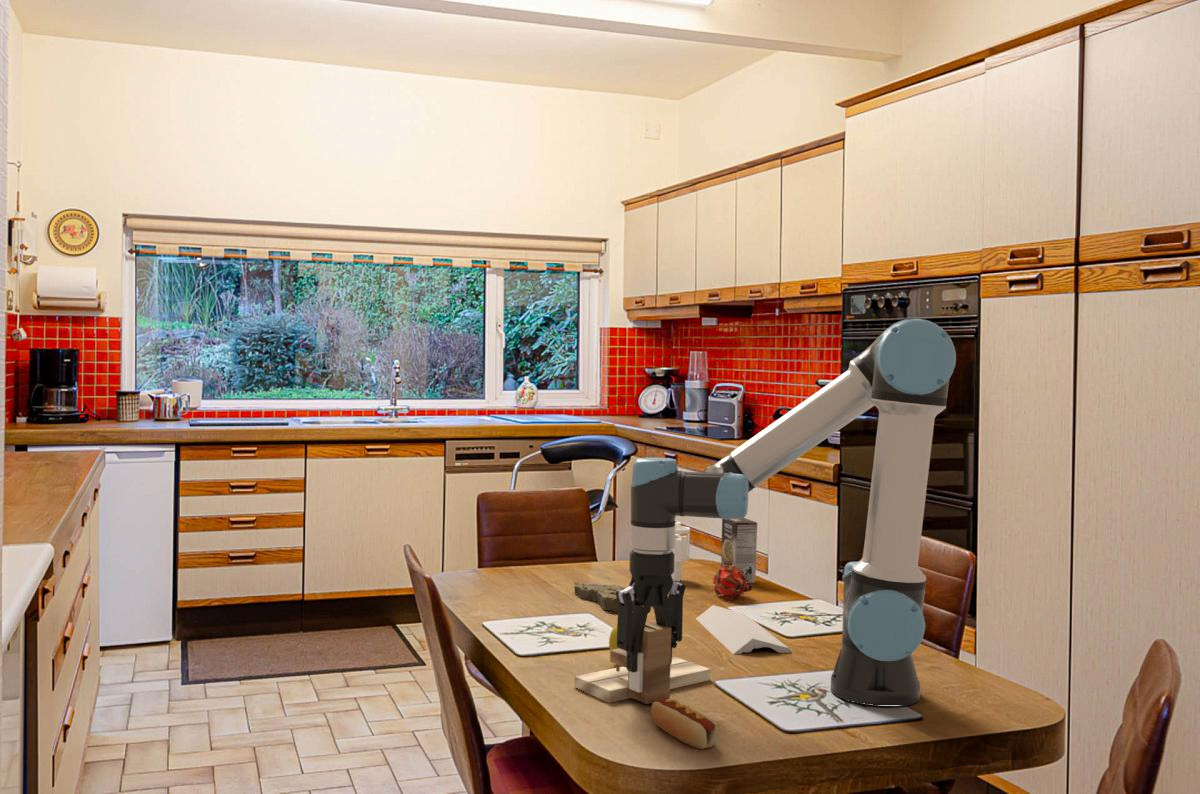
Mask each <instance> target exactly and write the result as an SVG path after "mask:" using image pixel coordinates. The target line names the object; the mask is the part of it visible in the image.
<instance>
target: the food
mask: <svg viewBox="0 0 1200 794" xmlns="http://www.w3.org/2000/svg"><path fill="white" fill-rule="evenodd" d="M650 710H651V711H650V712H651V716H652V719H653V722H654V724H655V725H656V726H657V727H659V728H660V729H662V730H663V731H665V732H666V733H668V734H669V735H671V736H672V737H674V738H676V739H678V740H679V741H681V742H682V743H684V744H685V745H689V746H691V747H693V748H695V749H699V750H705V749H710V748H712V747H713V746H714V745H715V744H716V742H717V740H718V737H719V731H720V730H719V729H720V728H719V727H720V726H719V724H718V722H716V721H715V720H714V719H711V718H710V717H708V716H706V715H704V714H702V713H701V712H699V711H696V710H693V709H692V708H690V706H687V705H686V704H682V703H680V702H679V701H678V700H677V699H667V698H666V697H659V698H658V699H657V700H656V702H654V703H651V709H650Z"/></svg>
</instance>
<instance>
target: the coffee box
mask: <svg viewBox="0 0 1200 794" xmlns="http://www.w3.org/2000/svg"><path fill="white" fill-rule="evenodd" d="M757 536H758V521H757V522H756V521H753V520H751V519H749V518H745V517H744V518H742V519H727V520H724V519H721V557H720V559H721V560H720V566H721V567H723V566H724V565H733V566H735V567H737V568H738V569H741V570H743V572H744V573H743V574H744V575H745V576H746V578H747V581H749V583H748V582H747V581H746V583H747V584H753V583H756V572H757V571H756V569H757V567H756V566H757V565H756V564H757V544H758V543H757V539H758V537H757ZM721 567H720V568H721Z"/></svg>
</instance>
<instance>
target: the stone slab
mask: <svg viewBox="0 0 1200 794" xmlns="http://www.w3.org/2000/svg"><path fill="white" fill-rule="evenodd" d="M573 583H574V586H573V587H574V594H576V596H577V597H579V598H582V599H583V600H586V599H587V601H591V600H592V601H593V602H594V603H595V602H597V603H596V604H598V603H599V604H598V605H599V606H600V608H602V609H601V610H603V611H604V610H605V611H612V612H613V613H617V614H618V601H617V597H616V591H617V590H624V589H626V588H627V587H625V586H621V585H616V584H592V583H581V584H580V583H579V582H578V581H574V582H573ZM633 598H634V596H633ZM632 603H633V601H632ZM640 606H642V605H640ZM642 607H644V606H642Z"/></svg>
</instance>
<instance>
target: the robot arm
mask: <svg viewBox="0 0 1200 794" xmlns="http://www.w3.org/2000/svg"><path fill="white" fill-rule="evenodd" d="M956 363H957V354H956V348H955V346H954V342H953V341H952V338H951V337H950V336H949V334H948V333H947V332H946V330H944V329H943V328H942V327H941V326H939V325H938V324H936V323H935V322H932V321H930V320H927V319H922V318H906V319H905V318H904V319H903V320H899V321H897V322H894V323H893V324H891V325H890V326H889V327H888V328H886V329H885V330H884V331H883V332H882V333H880V335H879V336H878V337H877V338H876V339H875V340H874V341H873V342H872V343H871V344H870V345H869V346H868V347H867V348H866V349H865V350H864V351H862V352H861V353H860V354H858V355H857V356H856V357H854V358H852V359H851V360H850V361H849V364H848V369H847V370H846V371H844V372H843V373H842V374H840V375H838V376H837V377H836V378H835V379H832V381H830V382H829V383H827V384H826V385H825V386H823V387H822V388H821V389H819V390H818V391H816V392H814V394H812V395H811V396H809V397H808V398H806V399H805V400H804V401H802V402H801V403H799V404H798V405H796V406H795V407H793V408H792V409H790V410H789V411H788V412H786V413H785V414H784V415H782V416H781V417H779V418H778V419H776V420H775V421H773V422H772V423H771V424H768V426H766V427H765V428H764V429H762V430H761V431H759V432H758V433H757V434H755V435H754V436H753V437H751V438H749V439H748V440H747V441H745V442H744V443H742V444H740V446H738V447H736V448H735V449H733V450H732V451H731V452H730V453H728V454H727V455H725V456H724V457H723V458H721V459H720V460H719V461H717V462H716V463H714V464H711V465H710V466H708V467H707V468H706V469H704V470H703V471H701V472H700V471H683V470H678V466H677V465H678V463H677V461H676V459H673V458H667V457H641V458H640V457H639V458H637V459H636V460H635V461H634V462H633V463H632V473H631V474H632V475H631V476H632V477H631V484H630V491H631V492H630V531H629V532H630V535H629V536H630V537H629V539H630V540H629V546H630V548H631V549H632V550H630V551H629V572H630V574H631V578H630V581H629V584H628V587H625V588H626V589H624V590H617V591H616V597H617V601H618V613H617V623H616V625H617V647H618V648H620V649H623V650H625V651H626V652H627V667H626V668H627V670H628V671H629V689H631V690H634V691H636V692H638V693H640V692H642V691H643V653H642V652H639V651H640V646H641V642H642V637H643V630H644V628H645V624H646V623H647V618H648V615H649V613H651V610H652V608H653V613H654V617H655V621H656V622H655V623H656V624H659V625H662V626H665V627H669V628H671V660H670V665H671V663H672V656H673V649H676V648H677V646H678V642H679V643H680V642H681V641H682V640H683V619H684V618H683V616H684V615H683V611H684V609H683V608H684V605H683V604H684V603H683V602H684V595H685V591H686V587H687V586H686V585H685V584H684V583H682V582H681V583H680V582H678V581H673V579H672V576H671V574H673V572H674V556H675V554H674V553H673V552H672V551H671V550H673V549H674V548H675V538H676V537H675V526H676V525H675V523H676V517H691V518H692V517H694V518H705V519H706V518H707V519H708V518H709V519H721V520H722V519H724V520H727V519H742V518H745V517H746V516H747V514H748V510H749V493H750V492H751V491H753V490H754V489H755V488H756V487H758V486H759V485H761V484H762V483H763V482H765V481H767V480H768V479H769V478H771V477H772V476H774V475H775V474H777V473H779V472H780V471H781V470H783V469H784V468H785V467H787V466H789V465H790V464H791V463H793V462H795V461H796V460H797V459H799V458H800V457H802V456H803V455H804V454H806V453H807V452H809V451H811V450H812V449H813V448H814V447H816V446H818V445H819V444H821V443H822V442H823V441H825V440H826V439H828V438H830V437H831V436H832V435H833V434H835V433H837V432H838V431H840V430H841V429H842V428H844V427H845V426H847V425H848V424H850V423H851V422H852V421H854V420H855V419H857V418H858V417H860V416H862V415H863V414H864V413H866V412H867V411H868V410H870V409H872V408H873V407H876V409H878V420H877V430H876V437H875V445H874V448H875V449H874V455H873V465H872V466H873V467H872V473H871V482H870V483H871V484H870V492H869V498H868V499H869V500H868V509H867V510H868V511H867V517H866V519H867V520H866V525H865V526H866V528H865V537H864V546H863V553H862V558H861V559H859V561H849V562H847V563H846V564H845V566H844V572H843V575H842V580H843V592H842V593H843V597H842V598H843V600H842V602H843V603H842V604H843V605H842V633H841V634H842V637H841V638H842V639H841V649H840V652H839V655H838V657H837V660H836V663H835V665H834V669H833V672H832V674H831V677H830V692H831V691H832V692H831V693H832V694H833V693H834V694H835V695H834V694H833V695H834V696H835V697H837V696H838V698H839V697H840V699H841V698H843V699H842V700H844V699H846V700H845V701H847V700H849V701H848V702H850V701H854V702H858V703H865V704H873V705H902V706H901V707H906V706H912V705H913V704H916V703H917V702H919V701H920V699H921V683H920V681H919V677H918V674H917V670H916V667H915V662H914V658H913V656H912V654H913V653H914V652H915V651H916V650H917V649H918V648H919V646H920V645H921V643H922V641H923V638H924V635H925V631H926V621H925V619H926V618H925V616H924V612H923V611H924V603H925V594H926V584H927V583H926V582H927V576H926V575H925V574H924V573H923V571H922V570H921V569H920V567H919V560H920V559H919V557H920V550H921V539H922V531H923V523H924V522H923V521H924V514H925V507H926V506H925V505H926V497H927V489H928V487H927V486H928V479H929V471H930V470H929V469H930V461H931V452H932V444H933V436H934V426H935V420H936V419H935V418H936V417H937V415H939V414H940V413H942V412H943V411H944V410H946V409H947V401H948V393H949V384H950V380H951V379H950V378H951V376H952V375H953V373H954V369H955V368H956ZM633 596H634V598H633ZM632 601H633V603H632ZM640 605H642V606H643V607H642V606H640ZM854 702H853V703H854ZM858 703H857V704H858Z"/></svg>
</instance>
